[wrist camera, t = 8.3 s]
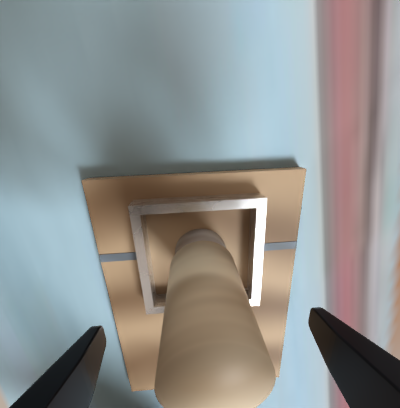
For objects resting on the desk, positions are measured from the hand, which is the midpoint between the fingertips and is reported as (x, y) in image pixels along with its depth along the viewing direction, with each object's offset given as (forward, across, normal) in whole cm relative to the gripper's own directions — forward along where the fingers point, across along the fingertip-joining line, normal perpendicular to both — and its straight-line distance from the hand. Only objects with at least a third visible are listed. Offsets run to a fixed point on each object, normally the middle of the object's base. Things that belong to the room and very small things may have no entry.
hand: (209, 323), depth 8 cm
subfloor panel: (+7, 0, +5) cm, 8 cm away
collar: (+7, 0, 0) cm, 7 cm away
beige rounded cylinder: (+6, 0, 0) cm, 6 cm away
